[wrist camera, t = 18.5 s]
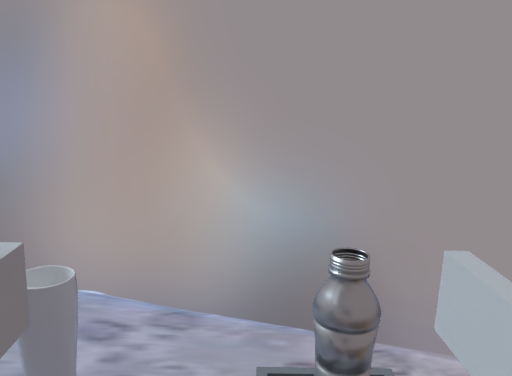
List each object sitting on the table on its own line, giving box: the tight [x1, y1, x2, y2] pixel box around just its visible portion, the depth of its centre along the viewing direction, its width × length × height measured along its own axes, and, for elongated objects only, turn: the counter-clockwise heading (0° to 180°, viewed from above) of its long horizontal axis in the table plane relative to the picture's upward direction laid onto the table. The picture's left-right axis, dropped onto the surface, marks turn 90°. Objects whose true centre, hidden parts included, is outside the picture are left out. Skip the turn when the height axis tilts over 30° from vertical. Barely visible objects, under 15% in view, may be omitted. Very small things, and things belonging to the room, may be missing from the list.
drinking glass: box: [17, 266, 78, 376], centre depth 52 cm, size 7×7×15 cm
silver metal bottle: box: [312, 248, 381, 376], centre depth 44 cm, size 6×7×20 cm
